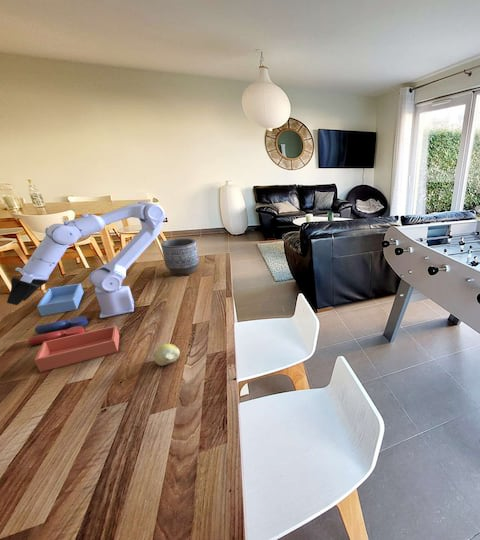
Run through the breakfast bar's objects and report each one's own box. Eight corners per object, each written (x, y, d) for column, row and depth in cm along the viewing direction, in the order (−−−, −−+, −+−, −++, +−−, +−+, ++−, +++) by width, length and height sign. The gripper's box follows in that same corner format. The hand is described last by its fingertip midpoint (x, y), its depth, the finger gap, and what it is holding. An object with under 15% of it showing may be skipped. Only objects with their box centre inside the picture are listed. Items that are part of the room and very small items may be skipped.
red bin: (119, 336, 92) (116, 325, 90) (117, 351, 85) (114, 340, 83) (48, 353, 83) (43, 341, 82) (40, 372, 76) (34, 360, 75)
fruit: (178, 346, 89) (185, 359, 81) (157, 359, 85) (163, 374, 78) (168, 332, 86) (174, 344, 79) (146, 345, 83) (150, 358, 76)
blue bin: (52, 297, 112) (48, 288, 110) (83, 292, 117) (80, 283, 115) (41, 316, 100) (36, 306, 98) (77, 309, 105) (73, 299, 103)
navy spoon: (34, 337, 89) (31, 330, 88) (38, 330, 93) (35, 323, 92) (87, 325, 96) (84, 319, 95) (88, 319, 99) (86, 313, 98)
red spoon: (27, 349, 84) (24, 342, 83) (32, 341, 87) (28, 334, 86) (84, 336, 91) (81, 329, 90) (86, 329, 94) (83, 322, 93)
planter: (202, 273, 140) (197, 244, 134) (168, 279, 132) (161, 248, 126) (198, 264, 150) (193, 236, 145) (166, 268, 143) (160, 240, 137)
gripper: (32, 253, 90) (5, 292, 87) (18, 255, 78) (-14, 300, 76) (61, 263, 94) (36, 301, 91) (52, 266, 83) (23, 309, 80)
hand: (16, 301), depth 84 cm, fingers open, 7 cm apart
